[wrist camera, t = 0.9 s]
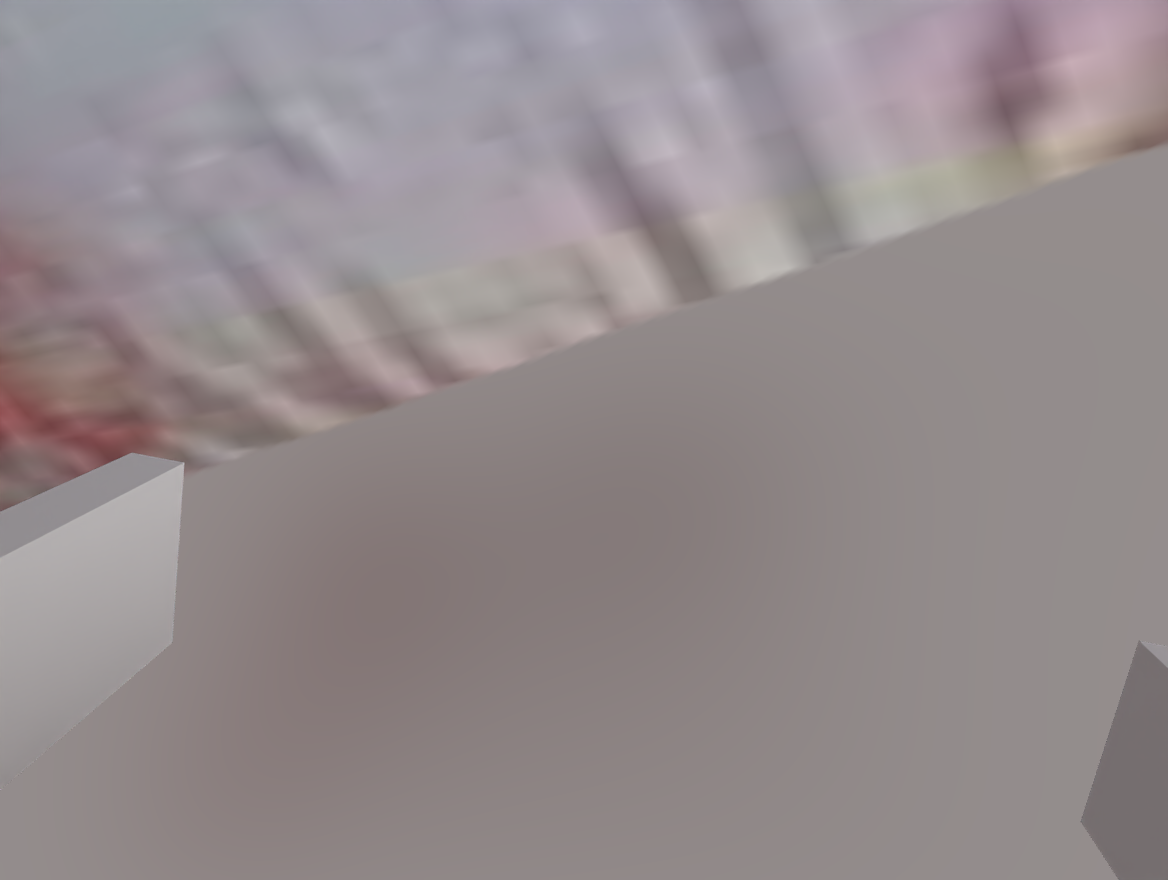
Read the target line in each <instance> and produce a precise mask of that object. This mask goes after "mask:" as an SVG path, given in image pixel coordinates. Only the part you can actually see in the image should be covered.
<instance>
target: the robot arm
mask: <svg viewBox="0 0 1168 880" xmlns="http://www.w3.org/2000/svg"><path fill="white" fill-rule="evenodd" d="M183 476H184V462H179V461H173V460H168V459H162V458H157V457H152V456H146V455H141V454H136V453H130V454H128V455H126V456H123V457H121V458H119V459H117V460H114V461H112V462H110V463H108V464H106V465H103V466H101V467H99V468H97V469H94V470H92V471H90V472H88V473H86V474H83V475H81V476H79V477H77V478H74V479H72V480H70V481H68V482H65V483H63V484H61V485H59V486H57V487H54V488H52V489H50V490H48V491H45V492H43V493H41V494H39V495H37V496H34V497H32V498H30V499H28V500H25V501H23V502H21V503H19V504H16V505H14V506H12V507H10V508H8V509H5V510H3V511H1V512H0V790H1V789H2V788H4V787H5V786H6V785H7V784H8V783H9V782H10V781H12V780H13V779H14V778H15V777H16V776H17V775H19V774H20V773H21V772H22V771H23V770H24V769H25V768H27V767H28V766H29V765H30V764H31V763H33V762H34V761H35V760H36V759H37V758H38V757H39V756H41V755H42V754H43V753H44V752H45V751H47V750H48V749H49V748H50V747H51V746H52V745H54V744H55V743H56V742H57V741H58V740H59V739H60V738H61V737H63V736H64V735H65V734H66V733H68V732H69V731H70V730H71V729H72V728H73V727H75V726H76V725H77V724H78V723H79V722H80V721H82V720H83V719H84V718H85V717H86V716H87V715H88V714H90V713H91V712H92V711H93V710H94V709H95V708H97V707H98V706H99V705H100V704H101V703H102V702H104V701H105V700H106V699H107V698H108V697H109V696H111V695H112V694H113V693H114V692H115V691H116V690H118V689H119V688H120V687H121V686H122V685H123V684H124V683H126V682H127V681H128V680H129V679H130V678H132V677H133V676H134V675H135V674H136V673H137V672H138V671H140V670H141V669H142V668H143V667H144V666H145V665H147V664H148V663H149V662H150V661H151V660H153V659H154V658H155V657H156V656H157V655H158V654H160V653H161V652H162V651H163V650H164V649H165V648H167V647H168V646H169V645H170V644H171V643H172V637H173V622H174V608H175V593H176V578H177V563H178V549H179V535H180V519H181V506H182V491H183ZM1081 822H1082V824H1083V826H1084V827H1085V829H1086V830H1087V832H1088V833H1089V835H1090V836H1091V838H1092V840H1093V841H1094V842H1095V844H1096V846H1097V847H1098V849H1099V850H1100V852H1101V853H1102V855H1103V856H1104V858H1105V860H1106V861H1107V862H1108V864H1109V866H1110V867H1111V869H1112V870H1113V872H1114V873H1115V875H1116V876H1117V878H1118V879H1119V880H1168V646H1165V645H1159V644H1154V643H1149V642H1143V641H1139V642H1138V645H1137V648H1136V651H1135V655H1134V658H1133V661H1132V664H1131V667H1130V670H1129V673H1128V676H1127V679H1126V683H1125V686H1124V689H1123V692H1122V695H1121V698H1120V701H1119V705H1118V707H1117V710H1116V713H1115V717H1114V720H1113V723H1112V726H1111V729H1110V732H1109V735H1108V738H1107V741H1106V744H1105V748H1104V751H1103V754H1102V757H1101V760H1100V763H1099V766H1098V769H1097V772H1096V776H1095V779H1094V782H1093V785H1092V788H1091V791H1090V794H1089V797H1088V800H1087V803H1086V807H1085V810H1084V813H1083V816H1082V819H1081Z"/></svg>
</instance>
